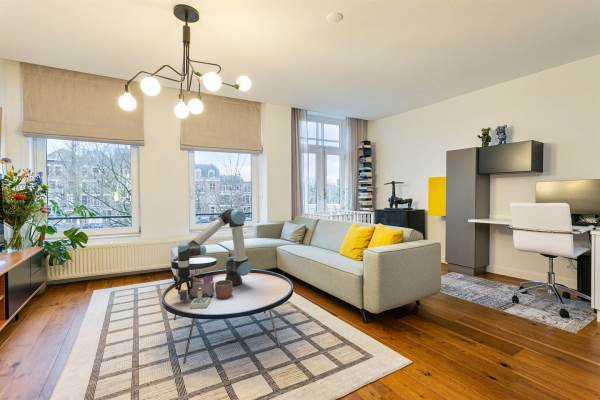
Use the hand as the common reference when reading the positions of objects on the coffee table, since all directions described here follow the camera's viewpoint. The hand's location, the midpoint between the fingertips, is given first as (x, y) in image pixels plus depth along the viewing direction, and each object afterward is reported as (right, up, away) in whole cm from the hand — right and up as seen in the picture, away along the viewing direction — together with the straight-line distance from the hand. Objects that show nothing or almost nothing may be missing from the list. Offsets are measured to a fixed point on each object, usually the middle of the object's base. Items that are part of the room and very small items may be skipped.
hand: (184, 298), depth 205 cm
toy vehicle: (+7, -3, +11) cm, 13 cm away
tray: (+14, -3, -6) cm, 15 cm away
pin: (+13, -2, -6) cm, 15 cm away
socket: (+13, -3, +2) cm, 14 cm away
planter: (+26, -2, +10) cm, 28 cm away
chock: (0, 0, 0) cm, 0 cm away
